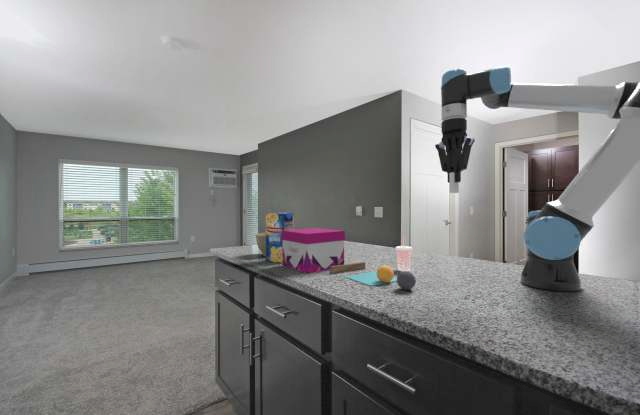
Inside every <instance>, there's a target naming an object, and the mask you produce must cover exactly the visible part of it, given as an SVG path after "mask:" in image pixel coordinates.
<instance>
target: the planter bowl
mask: <svg viewBox="0 0 640 415" xmlns="http://www.w3.org/2000/svg"><path fill="white" fill-rule="evenodd" d="M255 239H256V244H257V248H258V249H259V250H260V252H261V254H262V256H264V257H266V232H259V233H256V234H255Z"/></svg>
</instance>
